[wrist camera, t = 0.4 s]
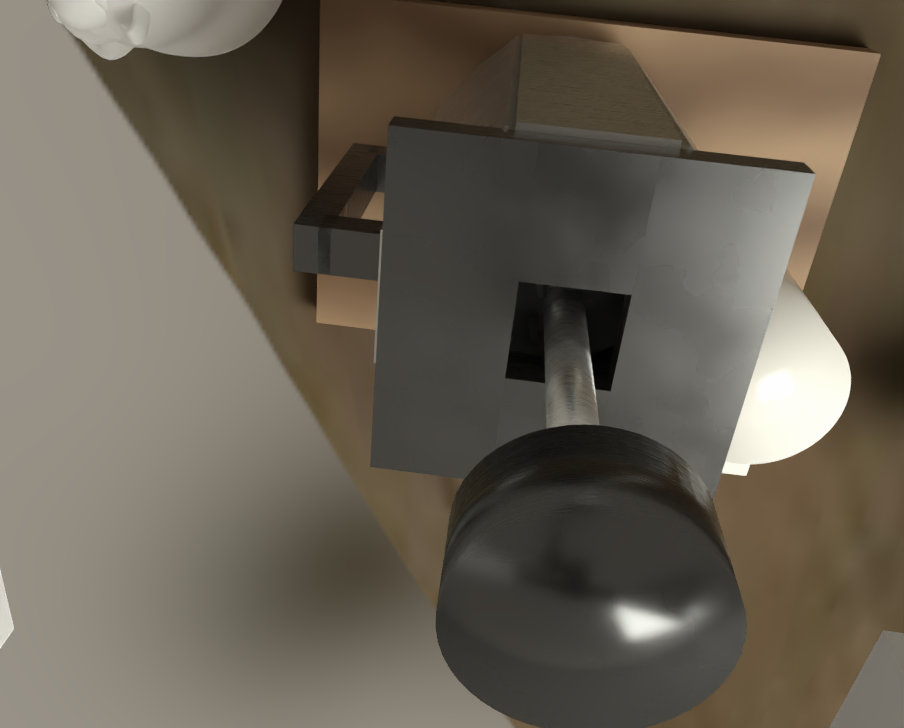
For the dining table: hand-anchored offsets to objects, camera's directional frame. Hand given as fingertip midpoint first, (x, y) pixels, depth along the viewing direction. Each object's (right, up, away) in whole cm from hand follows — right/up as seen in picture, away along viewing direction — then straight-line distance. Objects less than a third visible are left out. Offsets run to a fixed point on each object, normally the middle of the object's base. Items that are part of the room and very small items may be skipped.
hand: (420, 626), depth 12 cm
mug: (+14, +7, +29) cm, 32 cm away
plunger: (+4, +8, +17) cm, 19 cm away
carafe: (+4, +14, +26) cm, 29 cm away
